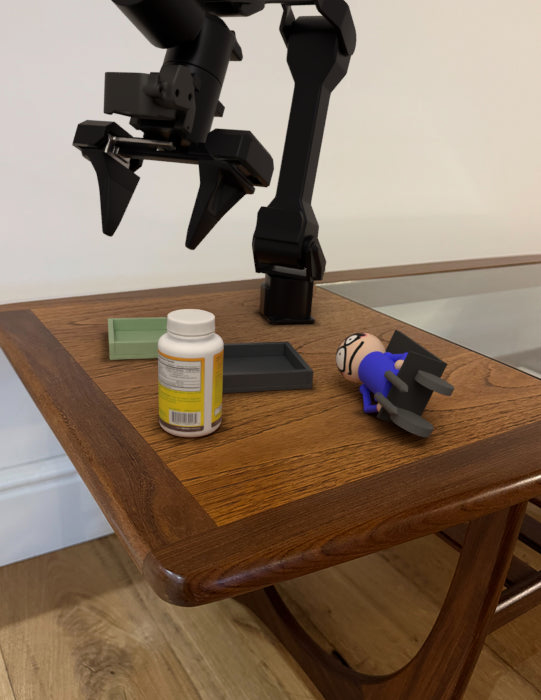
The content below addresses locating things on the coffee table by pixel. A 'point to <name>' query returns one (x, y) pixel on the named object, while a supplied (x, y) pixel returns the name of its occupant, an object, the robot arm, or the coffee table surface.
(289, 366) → the charcoal tray
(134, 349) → the sage tray
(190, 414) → the supplement bottle
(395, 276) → the coffee table surface
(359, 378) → the character figurine
